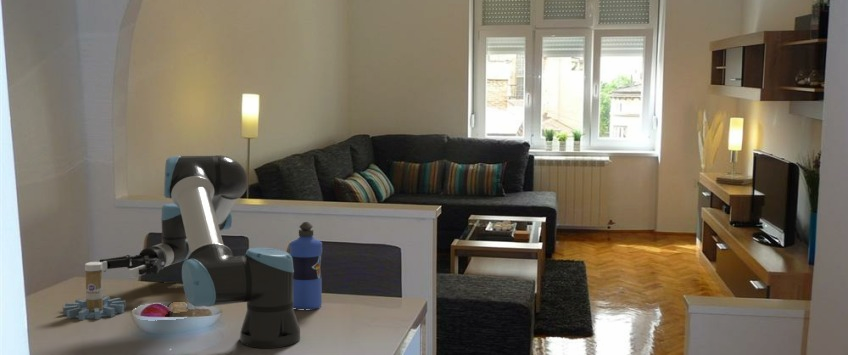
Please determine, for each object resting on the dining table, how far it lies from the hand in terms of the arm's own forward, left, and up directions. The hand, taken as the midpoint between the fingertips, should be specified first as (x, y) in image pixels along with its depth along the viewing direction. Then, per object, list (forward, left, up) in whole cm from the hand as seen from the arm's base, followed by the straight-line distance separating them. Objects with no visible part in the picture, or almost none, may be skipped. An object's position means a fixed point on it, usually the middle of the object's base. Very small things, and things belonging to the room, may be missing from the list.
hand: (110, 272), depth 233 cm
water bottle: (+5, -56, -10) cm, 57 cm away
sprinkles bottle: (-7, +2, -9) cm, 12 cm away
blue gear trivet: (-7, +2, -10) cm, 12 cm away
